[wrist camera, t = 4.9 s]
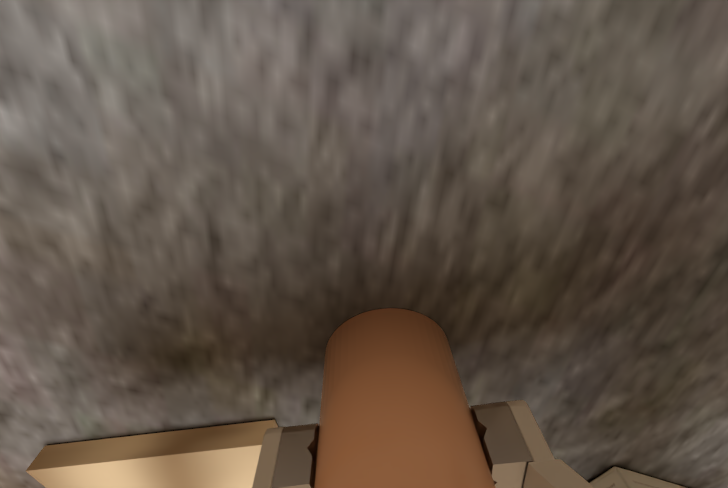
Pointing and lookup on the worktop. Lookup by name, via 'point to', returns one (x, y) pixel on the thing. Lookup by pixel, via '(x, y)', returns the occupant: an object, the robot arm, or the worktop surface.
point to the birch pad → (157, 459)
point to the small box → (629, 480)
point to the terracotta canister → (395, 408)
